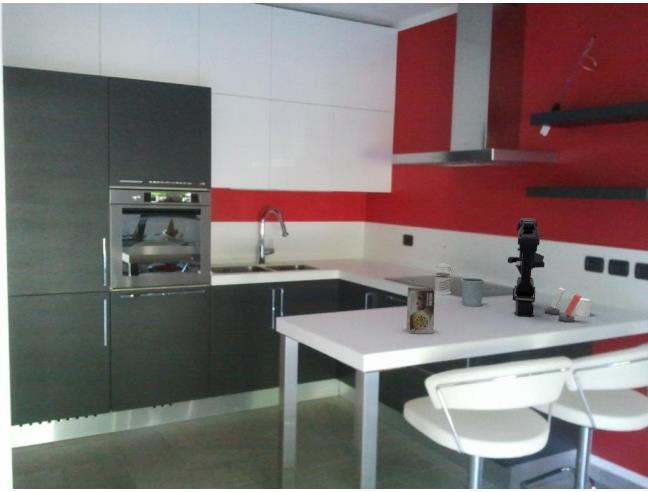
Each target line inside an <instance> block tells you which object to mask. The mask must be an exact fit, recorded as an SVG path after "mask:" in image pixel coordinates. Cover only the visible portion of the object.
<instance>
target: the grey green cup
mask: <svg viewBox="0 0 648 492" xmlns="http://www.w3.org/2000/svg"><path fill="white" fill-rule="evenodd" d="M484 283H485V281H484V279H482V278H476V277H464V278H461V279H460V284H461V286H460V287H461V297H462V298H461V301H462V302H461V303H462V306H463V307H464V306H465V307H469V308H470V307H472V308H474V307H475V308H477V307H482V301H483V300H482V299H483V290H484Z"/></svg>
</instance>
